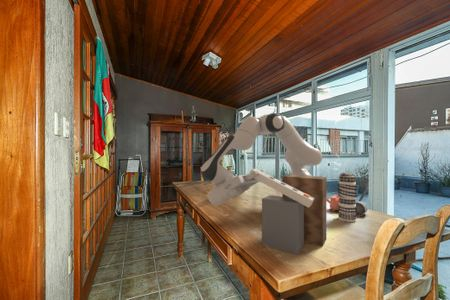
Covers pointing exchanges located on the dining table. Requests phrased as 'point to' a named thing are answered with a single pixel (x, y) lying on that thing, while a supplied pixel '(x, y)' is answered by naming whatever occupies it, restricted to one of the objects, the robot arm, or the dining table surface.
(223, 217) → the dining table surface
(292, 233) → the dark grey block
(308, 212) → the walnut post
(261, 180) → the power strip
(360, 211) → the ceramic mug
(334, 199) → the teapot
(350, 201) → the decorative candle
